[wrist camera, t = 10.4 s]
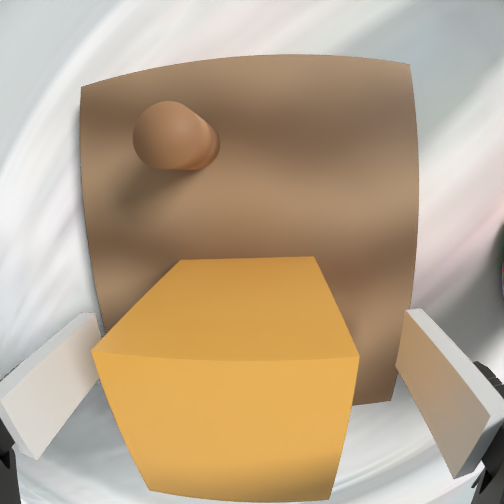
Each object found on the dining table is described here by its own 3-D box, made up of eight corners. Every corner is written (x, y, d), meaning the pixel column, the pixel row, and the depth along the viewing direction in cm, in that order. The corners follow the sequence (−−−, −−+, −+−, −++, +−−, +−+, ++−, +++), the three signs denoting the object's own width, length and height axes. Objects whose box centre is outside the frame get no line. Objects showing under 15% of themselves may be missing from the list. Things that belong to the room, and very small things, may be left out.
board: (95, 92, 14) (-9, 57, 6) (398, 72, 13) (484, 10, 5) (134, 385, 18) (81, 473, 10) (384, 385, 17) (425, 482, 9)
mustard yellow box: (180, 259, 14) (90, 350, 6) (313, 256, 14) (359, 356, 6) (195, 369, 16) (149, 490, 8) (310, 369, 15) (329, 499, 7)
